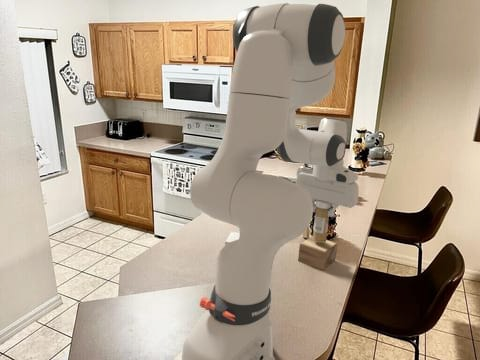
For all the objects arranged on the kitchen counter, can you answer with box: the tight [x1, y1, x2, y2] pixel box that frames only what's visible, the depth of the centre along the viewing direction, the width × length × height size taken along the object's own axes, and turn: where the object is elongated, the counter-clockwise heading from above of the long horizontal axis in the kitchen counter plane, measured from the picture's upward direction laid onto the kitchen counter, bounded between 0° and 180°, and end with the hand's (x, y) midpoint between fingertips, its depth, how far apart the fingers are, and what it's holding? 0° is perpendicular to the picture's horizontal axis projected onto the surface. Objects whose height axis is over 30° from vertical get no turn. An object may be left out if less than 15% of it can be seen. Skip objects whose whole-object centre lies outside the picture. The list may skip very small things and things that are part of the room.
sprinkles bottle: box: [312, 199, 332, 243], centre depth 115 cm, size 5×5×13 cm
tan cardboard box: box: [297, 235, 338, 271], centre depth 118 cm, size 9×9×6 cm
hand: (322, 213), depth 114 cm, fingers closed on sprinkles bottle, 4 cm apart
